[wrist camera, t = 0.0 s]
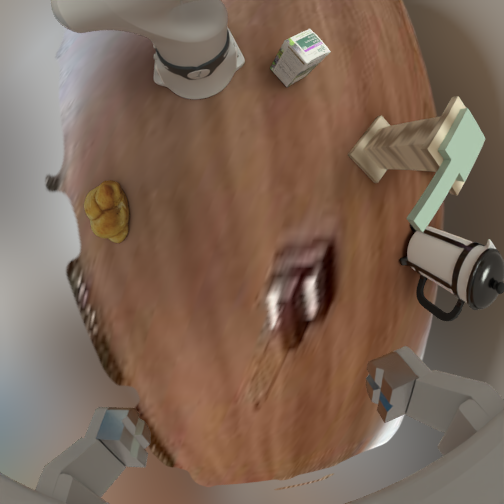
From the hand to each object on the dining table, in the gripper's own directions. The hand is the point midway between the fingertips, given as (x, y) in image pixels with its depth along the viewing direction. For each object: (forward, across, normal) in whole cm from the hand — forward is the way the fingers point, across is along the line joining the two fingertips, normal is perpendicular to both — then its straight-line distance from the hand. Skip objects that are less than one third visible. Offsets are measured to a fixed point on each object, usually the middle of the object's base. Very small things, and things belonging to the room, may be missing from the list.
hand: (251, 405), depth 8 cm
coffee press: (+48, -46, +19) cm, 69 cm away
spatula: (+22, -31, -4) cm, 38 cm away
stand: (+48, -35, -8) cm, 60 cm away
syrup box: (+48, -18, -27) cm, 58 cm away
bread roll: (+48, +24, -6) cm, 54 cm away
